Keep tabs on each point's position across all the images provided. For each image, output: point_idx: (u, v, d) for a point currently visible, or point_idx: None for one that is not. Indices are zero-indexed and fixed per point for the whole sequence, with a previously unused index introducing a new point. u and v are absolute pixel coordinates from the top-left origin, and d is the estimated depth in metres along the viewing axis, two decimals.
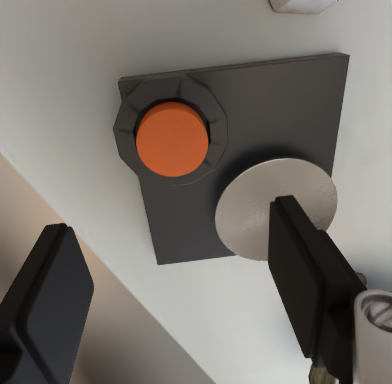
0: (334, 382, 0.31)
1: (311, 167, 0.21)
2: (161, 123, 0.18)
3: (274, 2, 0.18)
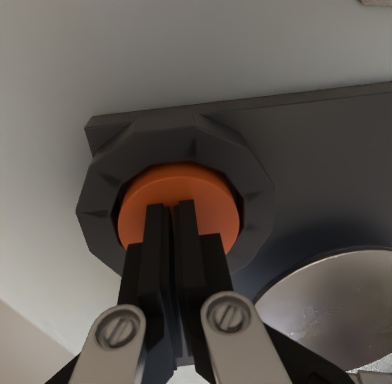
0: None
1: None
2: (160, 199, 0.10)
3: None
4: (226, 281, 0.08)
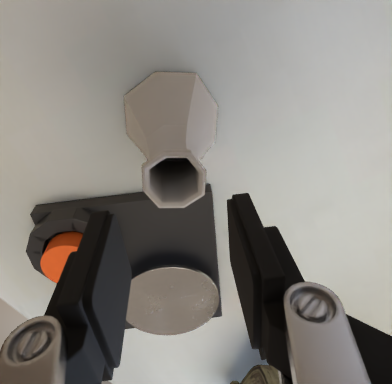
0: None
1: (190, 272, 0.27)
2: (57, 254, 0.23)
3: None
4: (295, 273, 0.08)
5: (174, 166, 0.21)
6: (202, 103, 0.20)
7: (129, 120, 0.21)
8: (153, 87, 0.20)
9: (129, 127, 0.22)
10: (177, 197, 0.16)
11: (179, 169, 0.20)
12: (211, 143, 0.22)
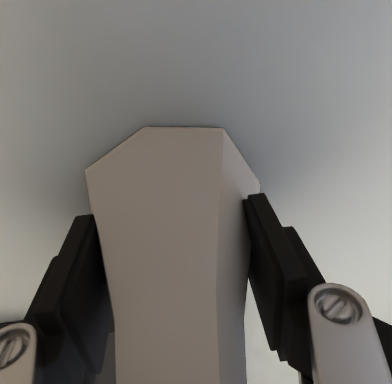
0: None
1: None
2: None
3: None
4: (315, 274, 0.08)
5: None
6: (237, 195, 0.10)
7: None
8: (138, 165, 0.10)
9: None
10: None
11: None
12: None
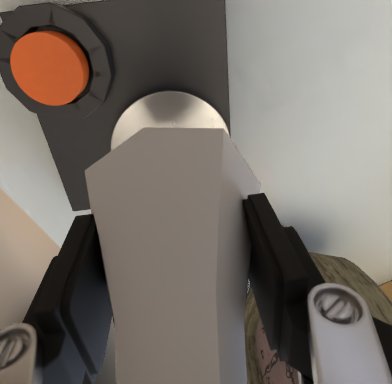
0: (256, 331, 0.32)
1: (197, 101, 0.22)
2: (31, 47, 0.19)
3: None
4: (315, 274, 0.08)
5: None
6: (237, 195, 0.10)
7: None
8: (138, 166, 0.10)
9: None
10: None
11: None
12: None
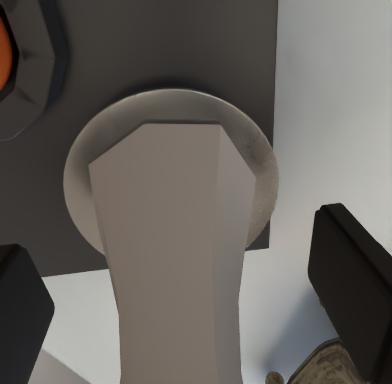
0: None
1: (223, 108, 0.12)
2: None
3: None
4: None
5: None
6: (233, 187, 0.11)
7: (97, 213, 0.11)
8: (140, 159, 0.10)
9: (98, 222, 0.12)
10: None
11: None
12: None
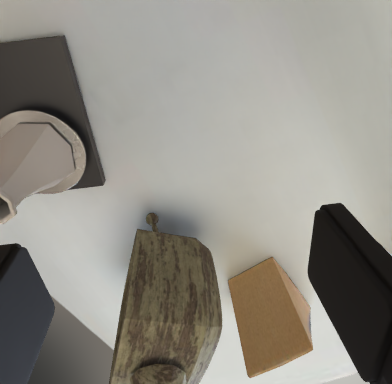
0: None
1: (49, 117, 0.30)
2: None
3: None
4: None
5: None
6: (47, 147, 0.29)
7: None
8: (11, 136, 0.29)
9: None
10: (1, 216, 0.24)
11: (29, 194, 0.29)
12: (64, 173, 0.31)
